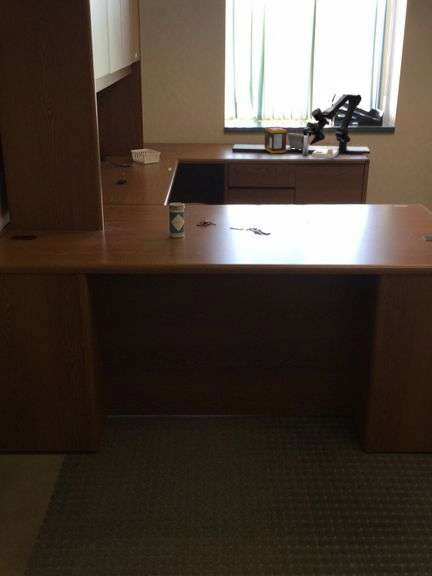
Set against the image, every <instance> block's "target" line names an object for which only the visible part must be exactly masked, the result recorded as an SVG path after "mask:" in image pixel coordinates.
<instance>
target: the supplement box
mask: <svg viewBox="0 0 432 576" xmlns="http://www.w3.org/2000/svg"><path fill="white" fill-rule="evenodd" d="M287 132H288V131H287V129H286V128H282V127H280V126H266V127H264V148H265V149H267V150H266V151H267V152H269V153H271V154H280V153H281V154H282V153H287V135H288V133H287ZM265 149H264V150H265Z"/></svg>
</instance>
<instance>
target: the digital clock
mask: <svg viewBox="0 0 432 576" xmlns="http://www.w3.org/2000/svg"><path fill="white" fill-rule="evenodd" d="M303 135H304V134H299V133H292V132H288V133H287V137H288V145H289V149H290V148H295V149H303V143H304V142H303V143H302V139H303ZM309 148H310V147H309ZM309 148H308V150H309ZM295 149H294V150H295Z"/></svg>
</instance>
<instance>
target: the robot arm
mask: <svg viewBox="0 0 432 576" xmlns="http://www.w3.org/2000/svg"><path fill="white" fill-rule="evenodd" d="M347 102H348V107H347V109H346V112H345V115H344V117H343V119H342V123H341V125H340V127H337V128H336V131H335V135H334V136H335V139H336V141H338V148H337V149H336V150H338V151H340V150H341V151H343V152H346V150H347V149H348V143H349V142H351V137H350V136H349V132H350V131H349V127H350V123H351V121H352V118H353V115H354V114H355V113H354V112H355V110H356V108H357V107H358V106H359V105H360V103H361V102H362V96H361V94H357V93H351V94H349V93H343V94H342V96H341V97H340V98H339V99H337V101H336V102H334V104H332V106H329V107H328V108H326V109H324V110H323V111H322V110H321V108H319V107H317V108H315V109H314V110H313V111H311V114H310V115H311V116H312V118H313V119H314V120H315V122H309V121H308V122H307V124H306V127H303V128H302V133H303V134H302V135H303V139H302V143H303V142H304V136H309V137H311V136H314V137H313V138H312V140H311V142H309V145H310V146H313V145H315V144H316V143H318V142H321V141H325V140H326V139H325V138H326V135H325V133H324V128H325V127H326V125H327V126H330V120H333V119H334V118H335V117H336V115H337V112H338V111H339V110H340V109H341V108H342V107H343V106H344V105H345V104H346V103H347ZM347 151H348V150H347Z"/></svg>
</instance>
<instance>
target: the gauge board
mask: <svg viewBox="0 0 432 576" xmlns="http://www.w3.org/2000/svg"><path fill="white" fill-rule="evenodd" d="M338 154H339V150H337V149H333V148H317V149H315V150H314V151H313V152H312V155H311V156H312V157H314V158H325V159H334V158H335V157H336V156H338Z"/></svg>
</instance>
